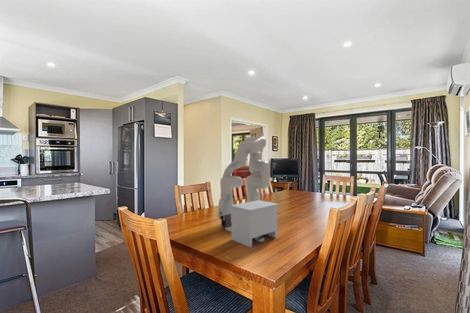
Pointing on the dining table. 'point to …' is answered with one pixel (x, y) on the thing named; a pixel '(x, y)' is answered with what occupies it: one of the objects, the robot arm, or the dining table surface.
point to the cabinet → (253, 221)
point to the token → (260, 239)
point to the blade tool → (228, 223)
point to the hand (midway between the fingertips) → (226, 225)
